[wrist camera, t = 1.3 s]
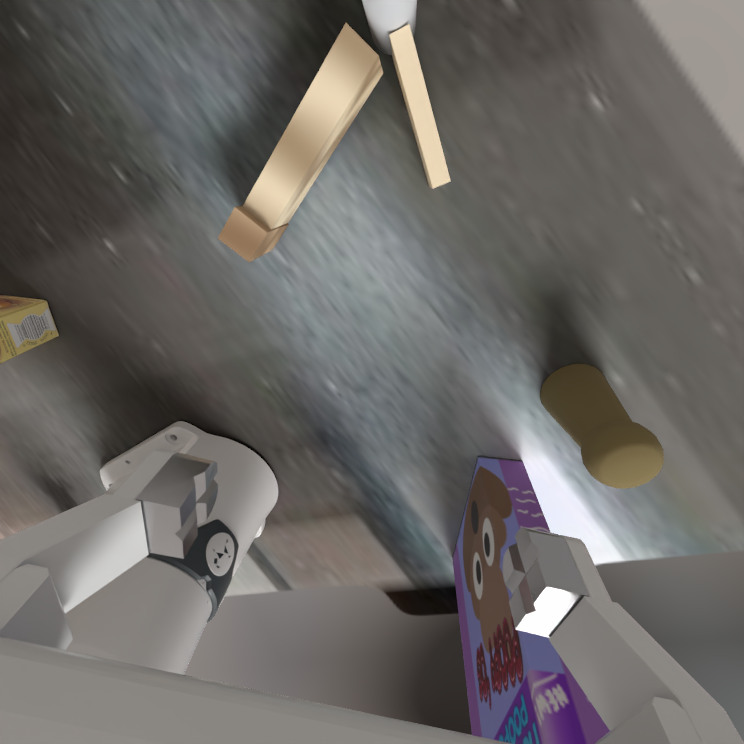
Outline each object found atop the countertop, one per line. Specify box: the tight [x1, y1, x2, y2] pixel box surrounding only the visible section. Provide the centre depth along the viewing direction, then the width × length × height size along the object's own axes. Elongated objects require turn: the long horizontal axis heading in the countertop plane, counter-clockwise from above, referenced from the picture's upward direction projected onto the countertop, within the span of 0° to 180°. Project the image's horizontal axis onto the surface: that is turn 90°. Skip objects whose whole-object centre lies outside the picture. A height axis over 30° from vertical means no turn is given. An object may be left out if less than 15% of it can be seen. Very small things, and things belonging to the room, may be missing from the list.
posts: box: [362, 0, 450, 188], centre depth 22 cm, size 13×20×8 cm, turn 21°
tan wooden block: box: [218, 23, 383, 262], centre depth 26 cm, size 15×3×5 cm, turn 141°
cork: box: [540, 364, 664, 488], centre depth 31 cm, size 6×6×11 cm
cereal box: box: [453, 456, 610, 744], centre depth 34 cm, size 17×5×24 cm, turn 177°
